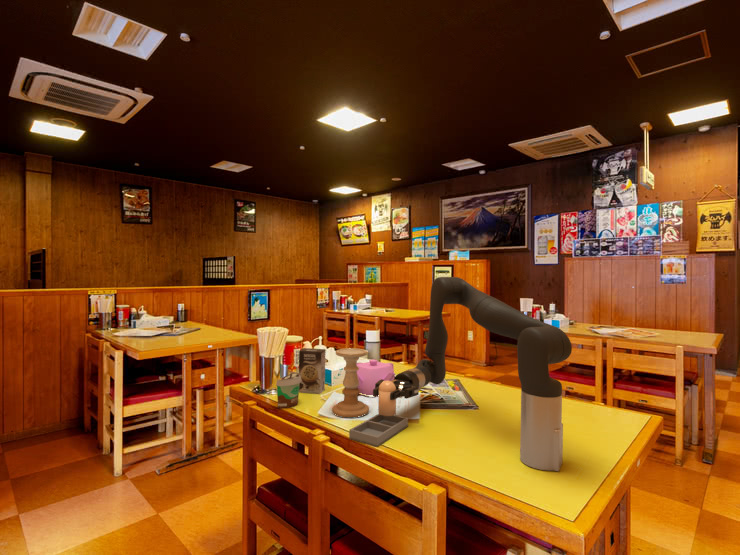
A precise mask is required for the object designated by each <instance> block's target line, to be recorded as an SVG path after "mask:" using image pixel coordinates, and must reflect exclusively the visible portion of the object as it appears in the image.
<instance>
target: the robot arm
mask: <svg viewBox="0 0 740 555" xmlns="http://www.w3.org/2000/svg"><path fill="white" fill-rule="evenodd" d="M429 297H430V298H429V299H430V300H429V302H430V303H429V327H428V335H427V339H426V343H425V344H426V345H425V349H424V353H425V355H426V357H427V358H428V359H427V358H423V359H421V360H419V361H418V363H417V365H416V366H415V367H413V368H409V369H406V370H404V371H402V372H399V373H397V374H395V376H394V379H393V380H392V381H391V382H393V383H394V384H395V386H396V390H395V391H393V392H391V393H390V400H395V399H396V400H397V399H402V398H403V397H404V399H410V398H413V397H416V396H418V395H419V391H420V390H421V389H423V388H424V387H426V386H428V385H429V384H430V383H431V384H434V385H440V384H442V383H443V382H444V381H445V379H446V374H447V369H446V361H445V360H446V357H445V356H446V349H447V345H448V340H449V334H448V330H447V327H446V325H445V322H444V319H443V310H444V306H445V305H461V306H463V307H465V308H466V309H468V310H469V315H470V317H471V320H473V321H474V323H476V324H477V325H479V326H480V327H482V329H483V328H484V329H485V330H486V331H489V332H490V333H493V334H496V335H498V336H503V337H507V338H510V339H514V340H517V343H516V344H517V345H516V346H517V347H516V348H517V350H516V352H517V373H518V378H519V382H520V385H521V386H520V394H521V395H520V435H519V436H520V439H519V440H520V441H519V442H520V446H519V447H520V449H519V457H520V458H519V459H520V461H521V462H522V464H524V465H526V466H528V467H530V468H533V469H535V470H536V469H537V470H541V471H555V472H560V469H561V466H562V464H563V452H564V450H563V449H564V448H563V447H564V439H563V438H564V423H562V418H563V417H562V412H563V410H562V409H563V408H562V407H563V385H562V382H560V381H559V380H558V379H555V378H554V377H551V376H550V372H549V365H553V364H554V365H555V364H559V363H562V362H564V361H566V360H568V359H569V357H570V356H571V355H572V351H573V347H572V346H573V344H572V341H571V340H570V337H569V336H568V335H567V334H566V332H564V331H563V330H562V329H561V328H559V327H558V326H555V325H552V324H550V323H547V322H543V321H541V320H539V319H536V318H533V317H532V316H529V315H527V314H525V313H523V312H522V311H520V310H518V309H516V308H514V307H512V306H510V305H509V304H506V303H505V302H504V301H501V300H500V299H498V298H496V297H493V296H491V295H489V294H487V293H485V292H483V291H481V290H479V289H478V288H476V287H474V286H473V285H471V283H469V282H467V281H466V280H464V279H463V278H461V277H458V276H457V277H456V276H438V277H436V278H435V279H433V281H432V284H431V289H430V296H429ZM383 381H384V380H383V379H381V380H379V381H378V382H377V383H376V384H375V389H373V396H375V397H374V398H377V397H379V396H378V395H379V386H380V384H381V383H382V382H383ZM376 396H377V397H376Z"/></svg>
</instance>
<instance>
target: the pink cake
mask: <svg viewBox="0 0 740 555" xmlns="http://www.w3.org/2000/svg"><path fill="white" fill-rule="evenodd" d="M356 365H357V367H358V368H359V370H358V371H357V376H358V379H359V386H358V387H357V388H358V389H359V390H360V393H362V394H366V395H373V389H375V384H376V383H377V382H378V381H379V380H381V379H383V380H384V381H392V380H393V379H394V378H395V376H396V373H395V370H394V363H392V362H381V361H379V360H377V359H373V358H372V359H370V360H369V361H367V362H357V363H356Z"/></svg>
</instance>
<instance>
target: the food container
mask: <svg viewBox="0 0 740 555" xmlns="http://www.w3.org/2000/svg"><path fill="white" fill-rule="evenodd" d="M301 381H302V380H301V376H300V374H299V372H295V371H289V374H288V375H286V376H284V377H282V378H281V379H276V388H277V389H276V390H277V392H276V394H277V409H290V408H291V409H292V408H294V407H296V406H297V405H298V404H299V397H300V396H299V394H300V392H299V384H300V382H301Z"/></svg>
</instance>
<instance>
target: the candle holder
mask: <svg viewBox="0 0 740 555" xmlns="http://www.w3.org/2000/svg"><path fill="white" fill-rule="evenodd" d="M367 354H368V351H367V350H366V349H363V348H356V347H355V348H353V347H352V348H349V347H347V348H340V349H337V350H335V355H336V356H338V357H340V358H341V357H342V358H343V360H344V361H345V363H346V364H345V366H344V367H343V370H344V372H345V374H344V378H343V380H342V385H343V387H344V388H343V389H342V390H341V391H342V392H341V393H342V394H343V400H341V401H339V402H337V403H336V404H334V405H333V406H332V408H331V409H332V410H331V412H332V414H333V413H334V414H333V415H335V414H336V415H338V416H337V417H339V416H342V417H341V418H344V417H357V418H359V417H358V416H362V415H364V414H367V413H368V412H369V413H370V406H369V405H368V404H366V403H364V402H363V401H361V400H359V397H358V396H359V395H360V394H359V393H360V390H359V389H358V388H357V387H358V386H359V379H358V376H357V371H358V370H359V368H358V367H357V365H356V363H358V360H360V358H361V357H362V358H363V357H365V356H367ZM369 413H368V414H369ZM368 414H367V415H368ZM336 415H335V416H336ZM362 417H363V416H362Z"/></svg>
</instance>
